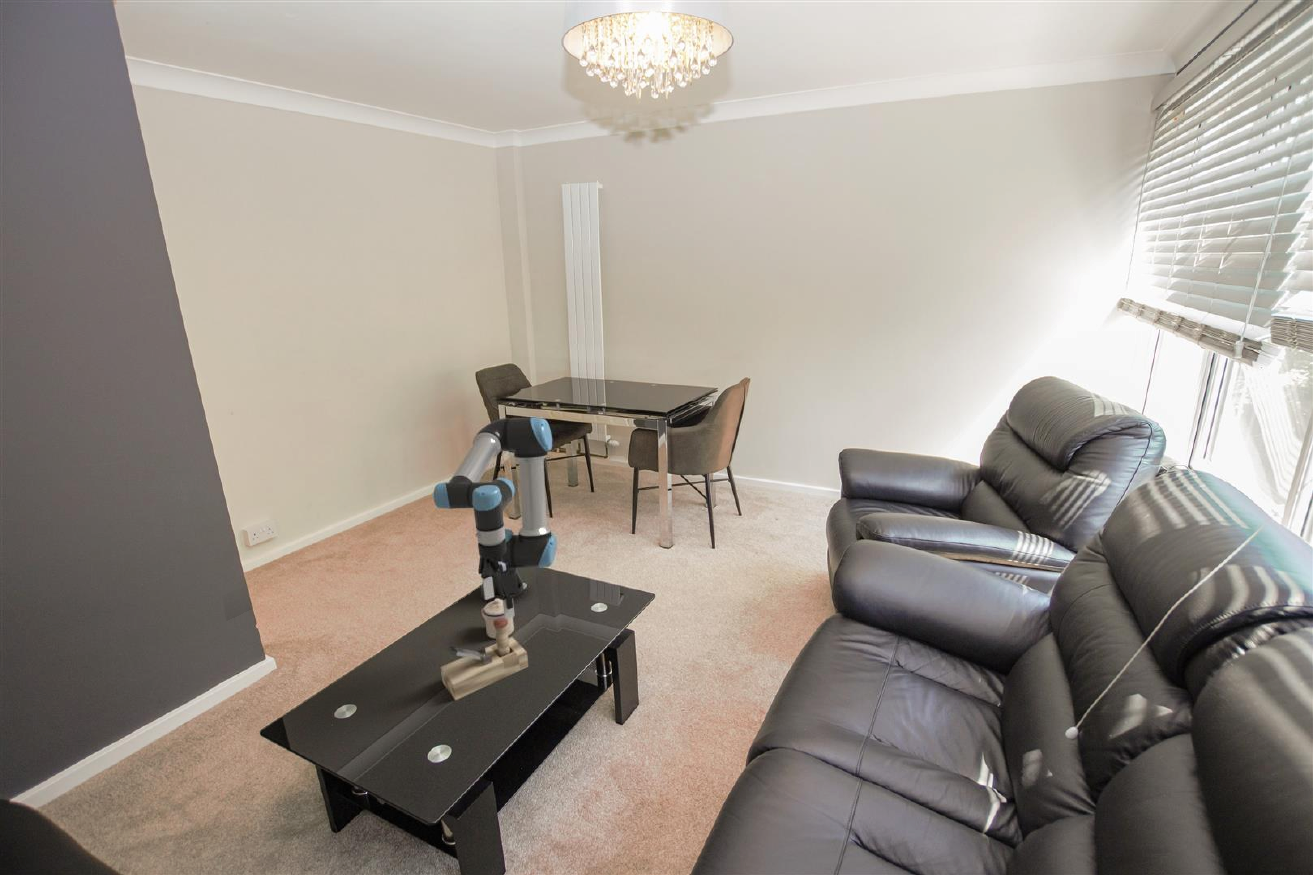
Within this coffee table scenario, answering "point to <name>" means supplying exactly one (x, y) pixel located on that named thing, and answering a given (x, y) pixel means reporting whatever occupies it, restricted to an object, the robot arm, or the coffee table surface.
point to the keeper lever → (465, 653)
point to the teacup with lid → (495, 617)
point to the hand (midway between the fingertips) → (499, 607)
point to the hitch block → (482, 669)
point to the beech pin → (502, 636)
